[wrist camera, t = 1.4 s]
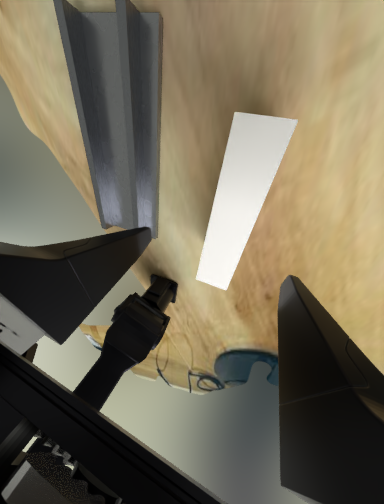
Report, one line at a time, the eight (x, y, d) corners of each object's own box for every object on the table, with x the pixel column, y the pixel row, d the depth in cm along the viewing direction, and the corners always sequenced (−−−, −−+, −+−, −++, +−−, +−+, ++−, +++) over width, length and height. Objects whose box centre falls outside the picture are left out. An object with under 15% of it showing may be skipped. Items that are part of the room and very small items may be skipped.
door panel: (233, 256, 25) (226, 290, 18) (210, 248, 26) (195, 279, 19) (281, 135, 16) (299, 119, 9) (242, 129, 16) (234, 111, 10)
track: (157, 237, 28) (149, 244, 26) (105, 219, 30) (93, 224, 28) (163, 18, 14) (145, -7, 12) (66, 18, 17) (36, -4, 14)
